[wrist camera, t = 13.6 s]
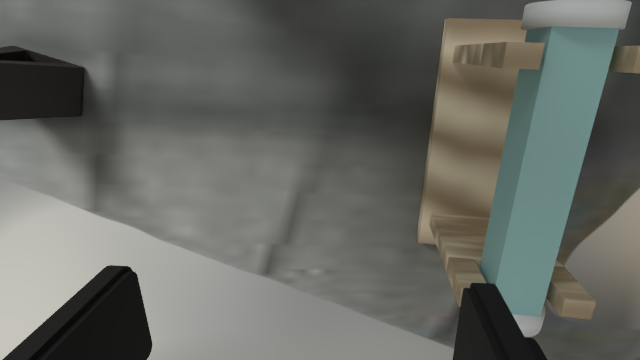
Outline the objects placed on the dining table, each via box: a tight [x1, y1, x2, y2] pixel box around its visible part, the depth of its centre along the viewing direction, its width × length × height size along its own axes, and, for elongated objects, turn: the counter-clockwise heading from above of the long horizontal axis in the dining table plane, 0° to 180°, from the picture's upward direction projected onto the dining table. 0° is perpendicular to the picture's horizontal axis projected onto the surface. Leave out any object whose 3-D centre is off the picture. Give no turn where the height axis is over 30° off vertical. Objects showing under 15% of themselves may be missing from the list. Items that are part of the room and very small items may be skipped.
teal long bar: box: [479, 0, 632, 337], centre depth 29 cm, size 25×6×6 cm, turn 178°
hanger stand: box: [417, 18, 640, 319], centre depth 34 cm, size 25×12×16 cm, turn 178°
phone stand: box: [0, 46, 84, 120], centre depth 40 cm, size 9×6×12 cm, turn 74°
